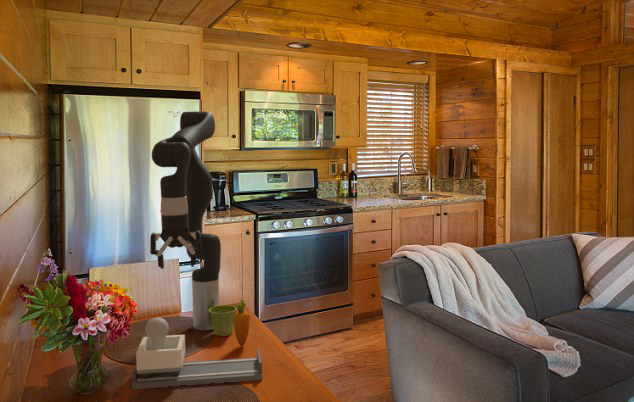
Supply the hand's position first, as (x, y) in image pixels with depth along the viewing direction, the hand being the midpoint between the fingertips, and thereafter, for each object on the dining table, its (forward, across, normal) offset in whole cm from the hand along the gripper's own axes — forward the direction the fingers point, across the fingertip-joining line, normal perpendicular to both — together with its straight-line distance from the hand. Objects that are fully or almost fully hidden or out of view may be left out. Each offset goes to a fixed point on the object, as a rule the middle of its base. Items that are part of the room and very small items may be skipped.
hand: (177, 267), depth 150 cm
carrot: (+29, -18, -8) cm, 35 cm away
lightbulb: (+22, +5, +10) cm, 25 cm away
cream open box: (+26, +4, +11) cm, 29 cm away
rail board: (+28, -6, +11) cm, 31 cm away
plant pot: (+30, -12, -21) cm, 38 cm away
